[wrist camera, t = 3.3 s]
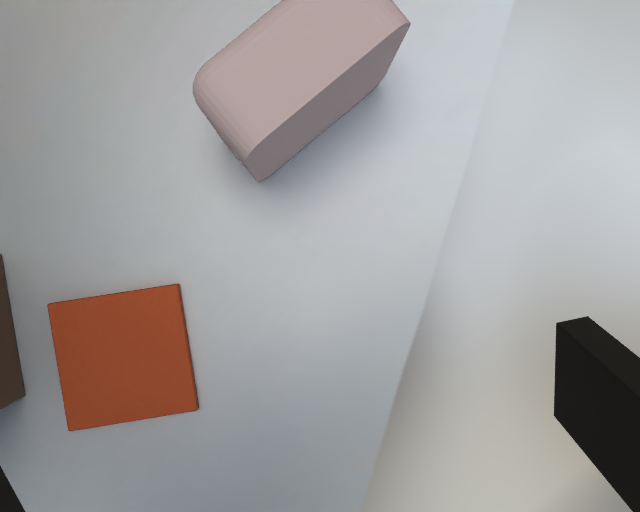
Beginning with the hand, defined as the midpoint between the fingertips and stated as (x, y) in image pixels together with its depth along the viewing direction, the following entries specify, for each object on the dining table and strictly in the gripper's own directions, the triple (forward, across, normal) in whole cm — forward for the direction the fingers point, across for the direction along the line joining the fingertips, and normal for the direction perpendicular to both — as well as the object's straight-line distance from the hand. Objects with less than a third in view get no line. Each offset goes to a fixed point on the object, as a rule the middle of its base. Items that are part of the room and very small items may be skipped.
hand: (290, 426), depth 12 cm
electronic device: (+24, +3, +4) cm, 24 cm away
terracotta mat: (+19, -11, -8) cm, 23 cm away
